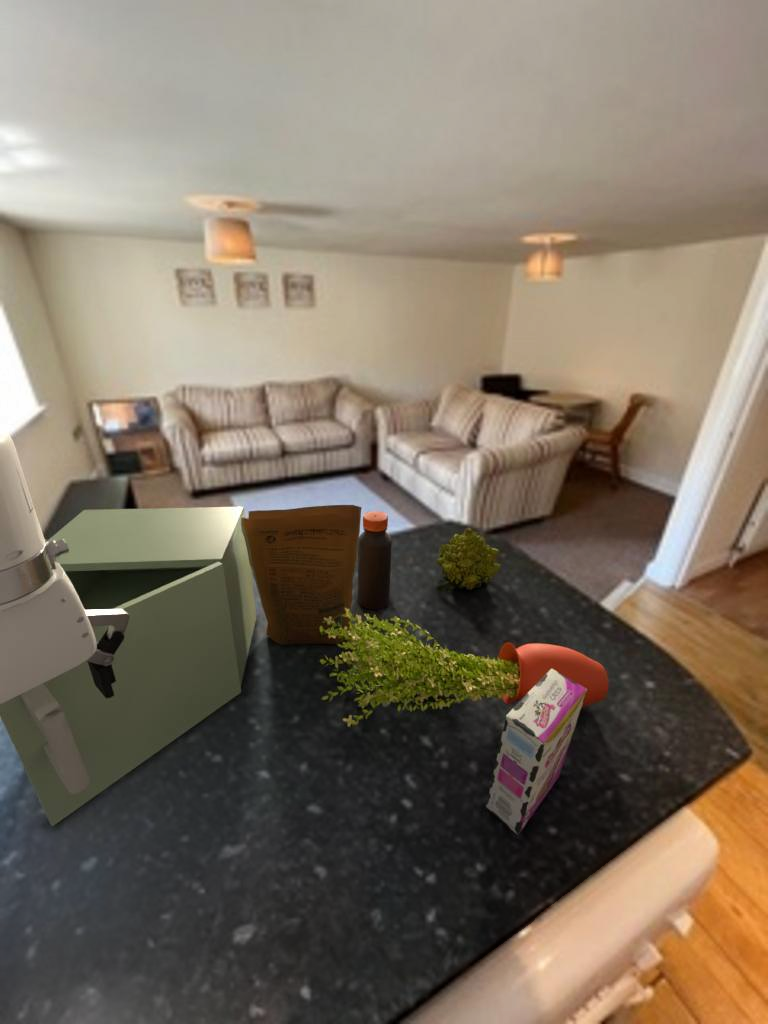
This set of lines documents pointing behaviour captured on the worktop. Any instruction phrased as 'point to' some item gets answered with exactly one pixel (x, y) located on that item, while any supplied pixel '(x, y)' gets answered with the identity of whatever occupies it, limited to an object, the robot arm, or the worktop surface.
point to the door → (129, 694)
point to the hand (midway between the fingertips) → (52, 720)
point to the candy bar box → (534, 748)
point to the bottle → (374, 561)
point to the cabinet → (159, 558)
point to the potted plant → (449, 668)
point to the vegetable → (467, 561)
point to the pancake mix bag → (303, 568)
